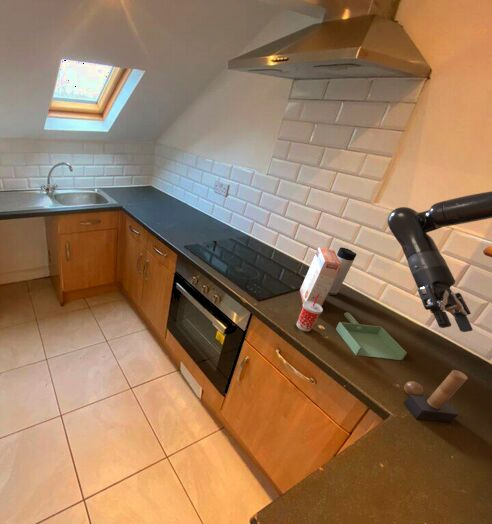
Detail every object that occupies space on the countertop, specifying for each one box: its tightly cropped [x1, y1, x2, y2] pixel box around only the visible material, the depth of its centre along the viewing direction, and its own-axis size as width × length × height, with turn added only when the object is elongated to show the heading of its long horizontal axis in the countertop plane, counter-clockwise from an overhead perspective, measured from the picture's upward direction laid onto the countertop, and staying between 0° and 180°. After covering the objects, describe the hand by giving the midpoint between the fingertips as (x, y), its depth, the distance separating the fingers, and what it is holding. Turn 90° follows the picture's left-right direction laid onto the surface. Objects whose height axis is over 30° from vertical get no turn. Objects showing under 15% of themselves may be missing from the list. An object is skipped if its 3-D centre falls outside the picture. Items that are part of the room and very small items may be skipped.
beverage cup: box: [296, 294, 324, 332], centre depth 102 cm, size 6×6×14 cm
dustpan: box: [335, 312, 408, 361], centre depth 103 cm, size 20×15×3 cm
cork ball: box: [403, 380, 425, 396], centre depth 82 cm, size 4×4×4 cm
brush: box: [403, 369, 468, 424], centre depth 75 cm, size 9×4×14 cm, turn 87°
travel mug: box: [327, 246, 357, 296], centre depth 124 cm, size 6×7×20 cm
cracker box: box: [299, 246, 342, 307], centre depth 115 cm, size 14×6×21 cm, turn 160°
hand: (456, 329), depth 75 cm, fingers open, 8 cm apart
